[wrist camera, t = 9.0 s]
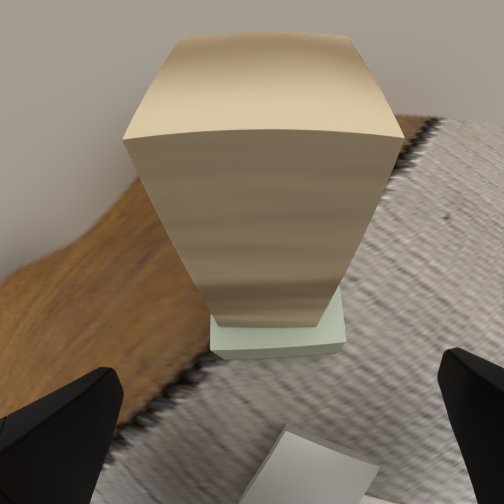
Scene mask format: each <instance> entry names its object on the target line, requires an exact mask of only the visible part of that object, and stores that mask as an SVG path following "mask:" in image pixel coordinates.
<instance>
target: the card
mask: <svg viewBox="0 0 504 504" xmlns="http://www.w3.org/2000/svg"><path fill="white" fill-rule="evenodd" d="M359 504H402V503H397V502H393V501H389V500H385V499H381V498H378V497H374V496H371V495H367V494H365V495H364V496H363V498H362V499H361V501H360V502H359Z"/></svg>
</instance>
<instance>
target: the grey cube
mask: <svg viewBox="0 0 504 504" xmlns="http://www.w3.org/2000/svg"><path fill="white" fill-rule="evenodd" d="M379 469H380V466H378V465H377V464H375V463H374V462H373V461H371V460H370V459H368V458H367V457H365V456H364V455H362V454H361V453H360V452H358V451H355V450H352V449H350V448H347V447H344V446H342V445H339V444H336V443H334V442H331V441H329V440H326V439H324V438H321V437H319V436H316V435H314V434H312V433H309V432H307V431H305V430H302V429H300V428H298V427H296V426H293V425H291V424H289V423H286V424H285V426H284V428H283V430H282V431H281V433H280V435H279V436H278V438H277V440H276V442H275V443H274V445H273V447H272V448H271V450H270V452H269V453H268V455H267V456H266V458H265V460H264V461H263V463H262V464H261V466H260V468H259V469H258V471H257V472H256V474H255V475H254V477H253V478H252V480H251V482H250V483H249V485H248V486H247V488H246V490H245V492H244V494H243V495H242V497H241V499H240V501H239V503H238V504H359V502H360V501H361V499H362V498H363V496H364V495H365V493H366V491H367V490H368V488H369V486H370V485H371V483H372V481H373V480H374V478H375V476H376V475H377V473H378V471H379Z"/></svg>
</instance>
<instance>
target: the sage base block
mask: <svg viewBox="0 0 504 504" xmlns="http://www.w3.org/2000/svg"><path fill="white" fill-rule="evenodd" d="M345 343H346V334H345V325H344V316H343V308H342V300H341V292H340V285H339V286H338V288H337V290H336V292H335V293H334V295H333V297H332V299H331V301H330V303H329V305H328V306H327V308H326V310H325V312H324V314H323V316H322V317H321V319H320V321H319V323H318V325H317V326H316V327H239V326H218V325H217V323H216V321H215V320H214V318H213V316H212V314H211V325H210V350H211V351H212V352H214V353H215V354H217V355H218V356H220V357H221V358H223V359H224V360H231V359H262V358H281V357H296V356H309V355H320V354H330V353H336V352H337V351H338V350H339V349H340V348H341V347H342V346H343V345H344V344H345Z"/></svg>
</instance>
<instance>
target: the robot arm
mask: <svg viewBox="0 0 504 504" xmlns="http://www.w3.org/2000/svg"><path fill="white" fill-rule="evenodd" d="M437 378H438V383H439V387H440V390H441V393H442V396H443V400H444V403H445V406H446V410H447V413H448V417H449V420H450V424H451V427H452V429H453V432H454V435H455V437H456V440H457V442H458V445H459V448H460V450H461V453H462V456H463V459H464V462H465V465H466V467H467V470H468V473H469V476H470V480H471V483H472V486H473V489H474V492H475V496H476V499H477V503H478V504H504V368H502V367H500V366H498V365H496V364H494V363H491V362H489V361H487V360H485V359H483V358H481V357H478V356H476V355H474V354H472V353H470V352H468V351H465V350H463V349H461V348H458V347H456V348H452V349H447V350H446V351H445V352H444V353H443V357H442V360H441V364H440V367H439V371H438V376H437ZM123 397H124V392H123V388H122V386H121V383H120V381H119V378H118V376H117V373H116V371H115V370H114V369H113V368H109V367H99V368H97V369H95V370H93V371H92V372H90V373H88V374H86V375H84V376H82V377H80V378H79V379H77V380H75V381H73V382H71V383H69V384H67V385H65V386H63V387H62V388H60V389H58V390H56V391H54V392H52V393H50V394H48V395H46V396H44V397H42V398H41V399H39V400H37V401H35V402H33V403H31V404H29V405H27V406H25V407H23V408H21V409H19V410H17V411H15V412H13V413H11V414H9V415H8V416H7V417H6V416H5V417H3V418H1V419H0V504H89V503H90V500H91V497H92V495H93V492H94V489H95V486H96V483H97V480H98V477H99V474H100V472H101V469H102V466H103V463H104V461H105V458H106V455H107V452H108V450H109V447H110V444H111V441H112V438H113V435H114V431H115V427H116V424H117V420H118V416H119V412H120V409H121V405H122V401H123Z"/></svg>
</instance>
